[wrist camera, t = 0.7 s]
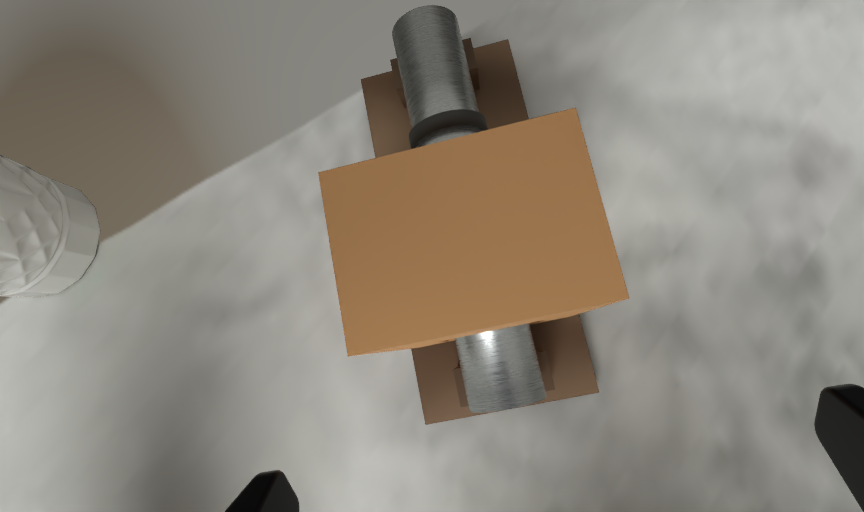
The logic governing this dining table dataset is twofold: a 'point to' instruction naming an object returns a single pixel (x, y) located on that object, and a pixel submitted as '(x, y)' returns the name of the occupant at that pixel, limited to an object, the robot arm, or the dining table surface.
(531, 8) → the dining table surface
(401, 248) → the tan block
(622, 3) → the dining table surface
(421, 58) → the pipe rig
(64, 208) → the white cup
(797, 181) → the dining table surface
